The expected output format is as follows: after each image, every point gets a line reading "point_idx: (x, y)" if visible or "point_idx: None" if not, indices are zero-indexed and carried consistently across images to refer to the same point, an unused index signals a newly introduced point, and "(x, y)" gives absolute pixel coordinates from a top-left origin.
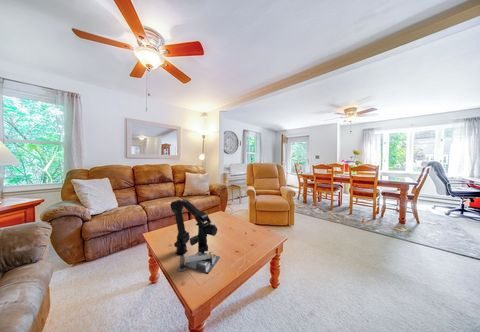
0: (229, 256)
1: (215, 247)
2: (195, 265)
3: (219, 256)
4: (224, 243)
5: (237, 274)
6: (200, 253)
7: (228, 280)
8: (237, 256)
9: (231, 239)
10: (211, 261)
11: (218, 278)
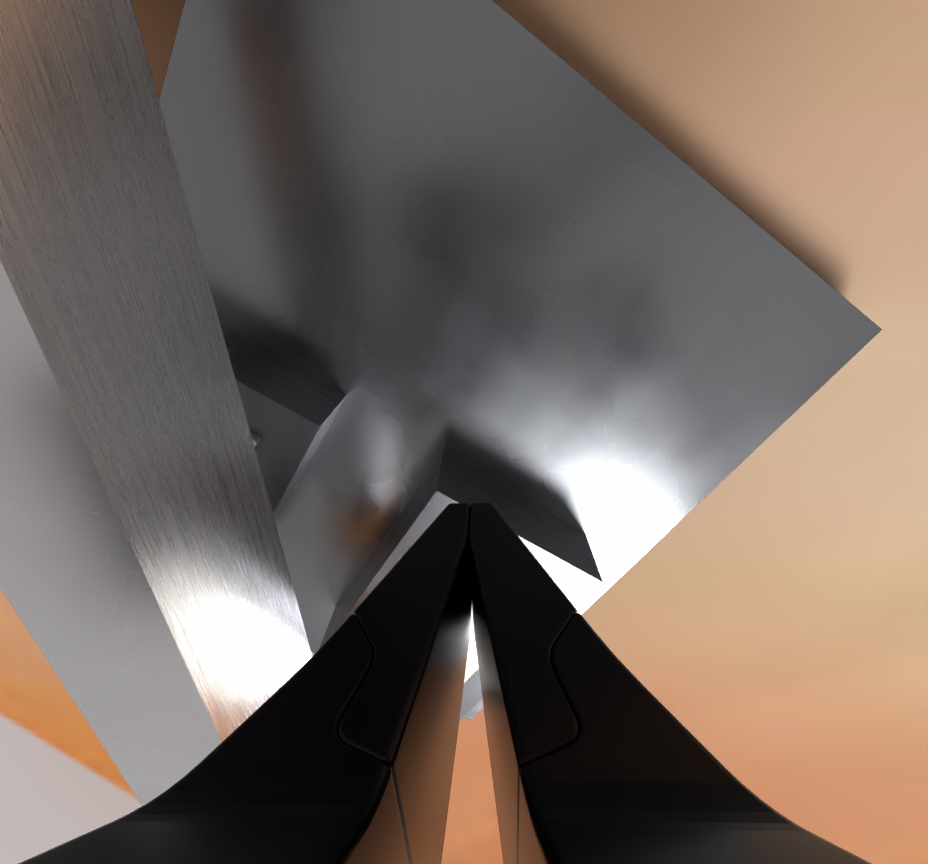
0: (478, 783)
1: (828, 665)
2: (232, 264)
3: (474, 713)
4: (859, 783)
5: (125, 791)
6: (733, 393)
7: (9, 713)
8: (453, 842)
9: (905, 860)
10: (338, 604)
11: (16, 627)
